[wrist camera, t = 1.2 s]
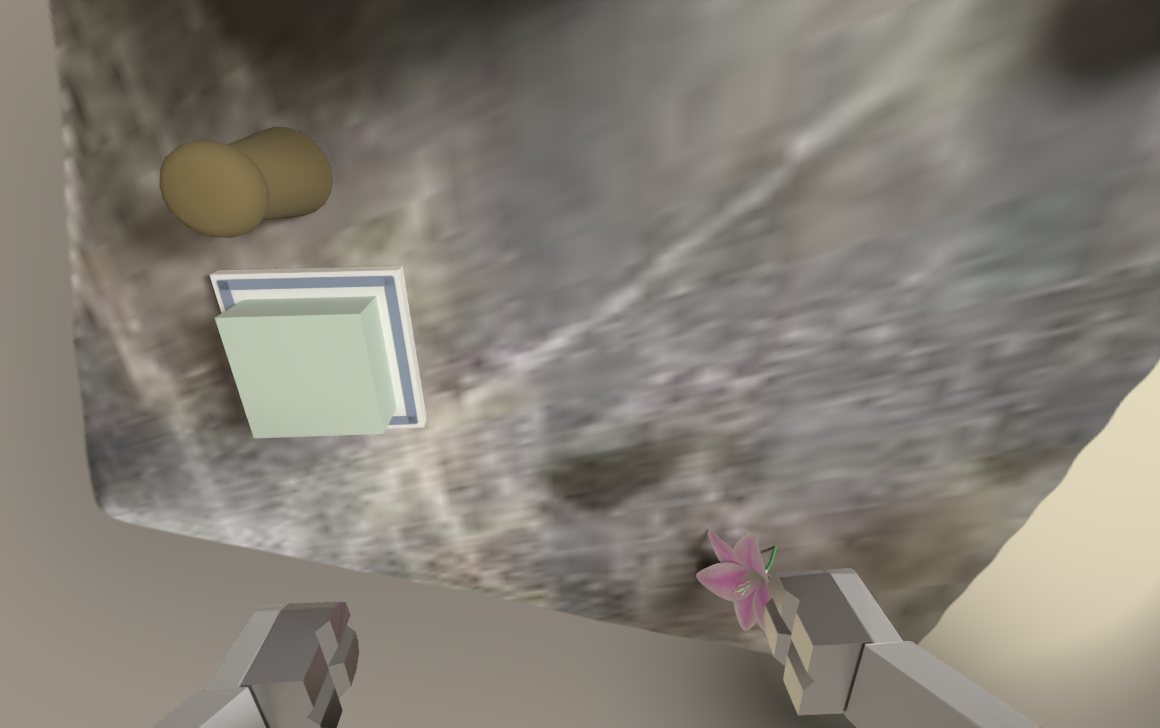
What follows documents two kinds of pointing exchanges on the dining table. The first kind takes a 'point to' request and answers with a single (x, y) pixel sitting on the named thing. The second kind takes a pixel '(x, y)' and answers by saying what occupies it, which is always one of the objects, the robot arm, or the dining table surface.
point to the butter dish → (321, 349)
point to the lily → (740, 578)
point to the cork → (245, 181)
